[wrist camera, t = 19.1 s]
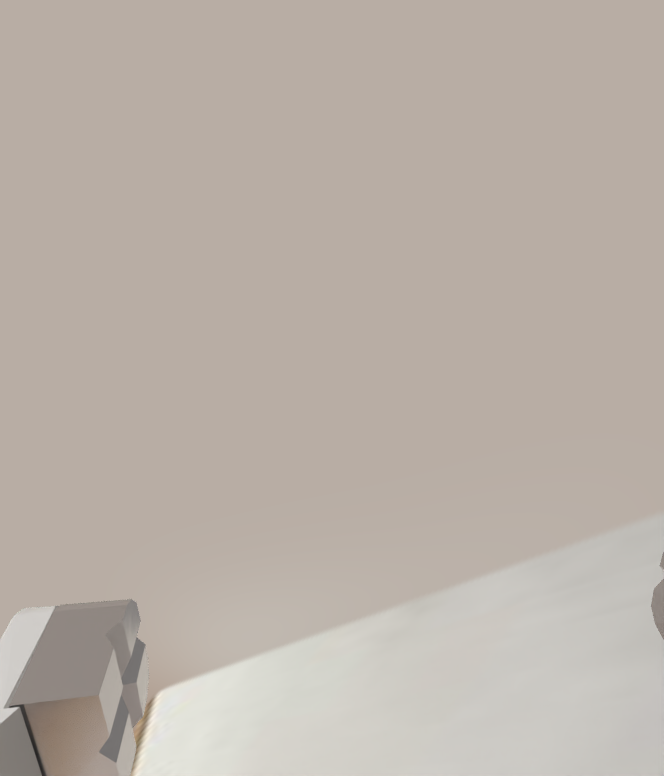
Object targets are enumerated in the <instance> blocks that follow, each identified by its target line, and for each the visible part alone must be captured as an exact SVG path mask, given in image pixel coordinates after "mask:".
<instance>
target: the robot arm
mask: <svg viewBox="0 0 664 776" xmlns="http://www.w3.org/2000/svg"><path fill="white" fill-rule="evenodd" d="M660 567H661V568H662V570H663V572H664V552H663V556H662V560H661V563H660ZM651 607H652V612H653V616H654V621H655V624H656V626H657V628H658V630H659V632H660V634H661V636H662V638H663V639H664V579H663V580H662V581H661V582H660V583H659V584H658V585H657V586H656V587H655V588H654V593H653V598H652V604H651ZM139 625H140V616H139V611H138V607H137V603H136V602H135V601H133V600H132V599H130V600H118V601H104V602H91V603H78V604H66V605H60V606H49V607H36V608H24V609H22V610H21V611H20V612H18V613H17V614H15V616H14V617H13V618H12V620H11V622H10V623H9V625H8V627H7V629H6V631H5V633H4V634H3V636H2V638H1V639H0V776H130V774H131V770H132V765H133V761H134V756H135V752H136V743H135V739H134V734H133V729H132V728H133V727H134V726H135V725H136V724H137V723H138V721H139V720H140V719H141V718H142V717H143V715H144V710H145V705H146V700H147V692H148V678H149V669H148V657H147V651H146V645H145V644H144V643H143V642H142V641H140V640H139V639H138V638H137V633H138V629H139Z"/></svg>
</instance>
